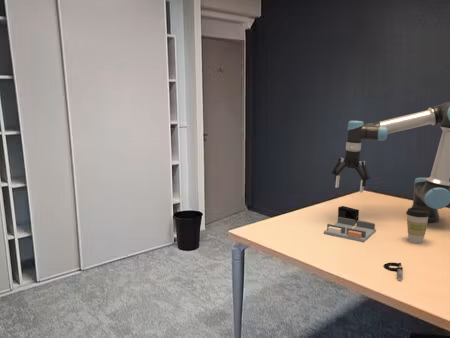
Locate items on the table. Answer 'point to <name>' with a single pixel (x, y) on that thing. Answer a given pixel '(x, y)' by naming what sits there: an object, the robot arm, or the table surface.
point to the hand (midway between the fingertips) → (348, 189)
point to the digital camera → (348, 213)
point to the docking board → (351, 229)
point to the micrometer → (395, 269)
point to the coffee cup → (417, 224)
